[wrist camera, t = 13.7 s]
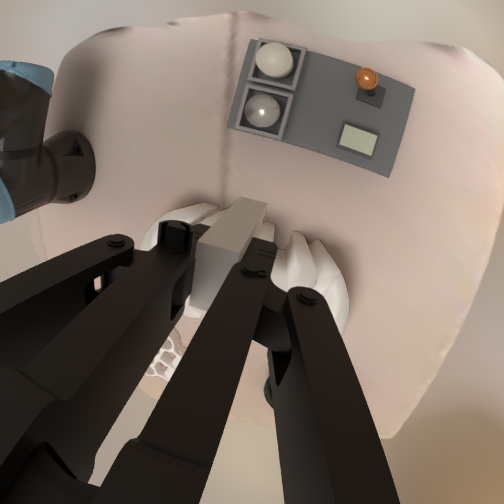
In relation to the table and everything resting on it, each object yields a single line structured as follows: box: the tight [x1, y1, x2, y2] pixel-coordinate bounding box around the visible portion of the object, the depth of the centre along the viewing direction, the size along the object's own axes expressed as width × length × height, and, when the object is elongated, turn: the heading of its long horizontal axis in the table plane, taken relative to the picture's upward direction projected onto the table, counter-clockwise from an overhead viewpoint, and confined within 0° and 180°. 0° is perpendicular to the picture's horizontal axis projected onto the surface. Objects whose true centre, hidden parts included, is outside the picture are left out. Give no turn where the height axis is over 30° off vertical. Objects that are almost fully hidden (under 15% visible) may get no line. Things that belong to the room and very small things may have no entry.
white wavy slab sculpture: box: [139, 203, 349, 337], centre depth 46 cm, size 35×16×11 cm, turn 72°
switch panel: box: [227, 38, 415, 178], centre depth 36 cm, size 24×14×6 cm, turn 76°
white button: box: [256, 43, 294, 79], centre depth 31 cm, size 4×4×3 cm
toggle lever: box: [355, 68, 378, 97], centre depth 29 cm, size 3×3×9 cm
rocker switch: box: [339, 124, 377, 156], centre depth 35 cm, size 4×3×1 cm, turn 76°
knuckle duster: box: [145, 328, 187, 381], centre depth 64 cm, size 3×18×15 cm
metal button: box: [245, 94, 282, 127], centre depth 36 cm, size 4×4×3 cm
